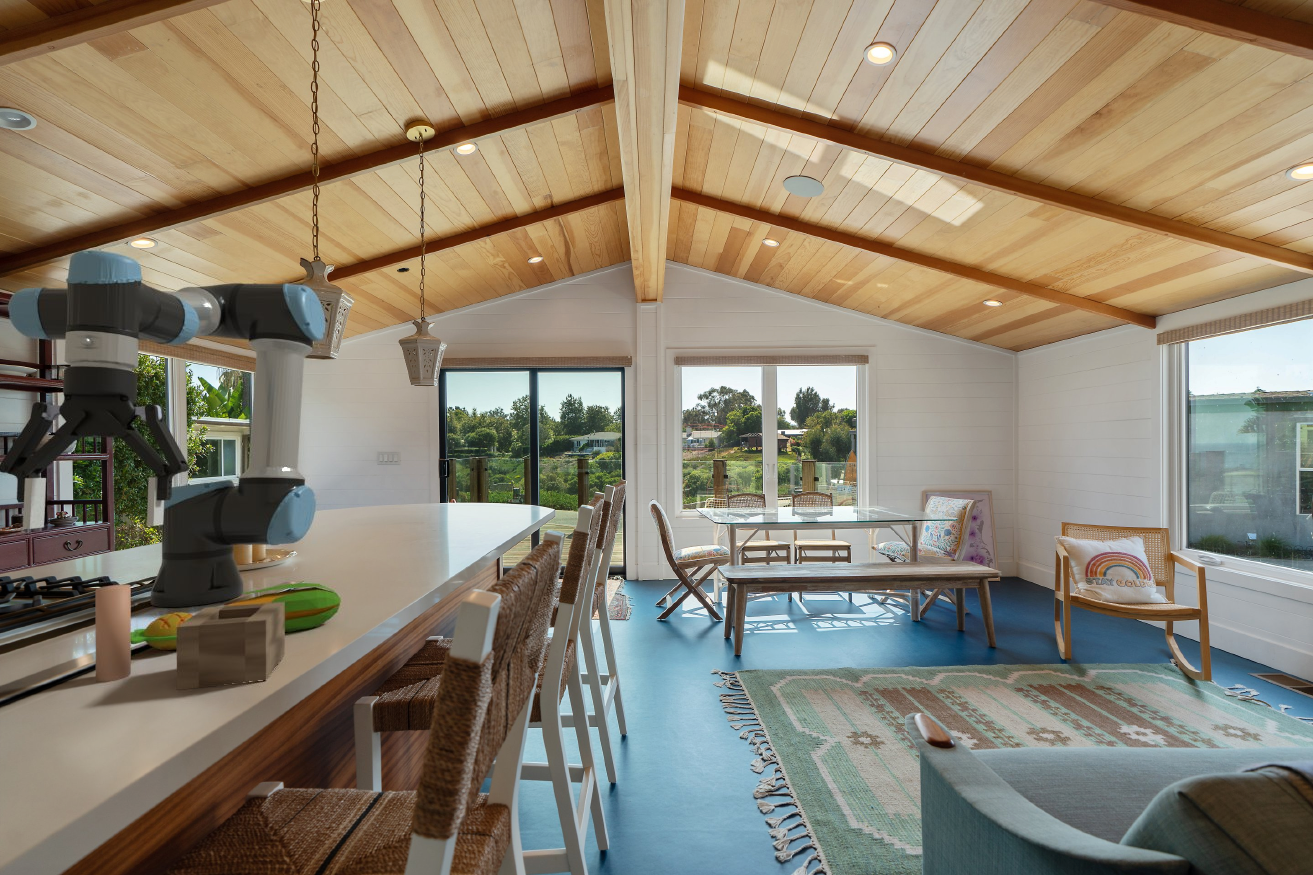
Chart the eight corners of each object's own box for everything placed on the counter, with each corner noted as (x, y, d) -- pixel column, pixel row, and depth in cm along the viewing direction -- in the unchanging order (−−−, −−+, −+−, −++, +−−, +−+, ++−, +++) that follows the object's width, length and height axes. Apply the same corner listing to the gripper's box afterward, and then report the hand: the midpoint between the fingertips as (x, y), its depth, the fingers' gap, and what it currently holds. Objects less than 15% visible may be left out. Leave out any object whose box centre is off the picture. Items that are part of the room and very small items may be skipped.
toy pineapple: (205, 649, 98) (205, 614, 98) (119, 663, 92) (119, 625, 92) (205, 638, 103) (205, 604, 103) (125, 649, 98) (125, 614, 98)
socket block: (205, 663, 91) (205, 607, 91) (284, 656, 94) (284, 601, 94) (176, 689, 82) (176, 627, 82) (266, 680, 85) (265, 620, 85)
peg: (104, 673, 88) (103, 585, 88) (135, 670, 89) (135, 583, 89) (89, 683, 84) (89, 591, 84) (123, 679, 85) (122, 589, 85)
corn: (344, 580, 110) (200, 598, 98) (344, 626, 109) (200, 648, 98) (336, 576, 116) (200, 591, 104) (337, 619, 115) (200, 639, 104)
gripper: (-35, 360, 80) (-44, 531, 79) (196, 367, 86) (191, 526, 85) (8, 369, 87) (1, 526, 86) (218, 375, 94) (214, 522, 92)
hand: (95, 527), depth 86 cm, fingers open, 13 cm apart
